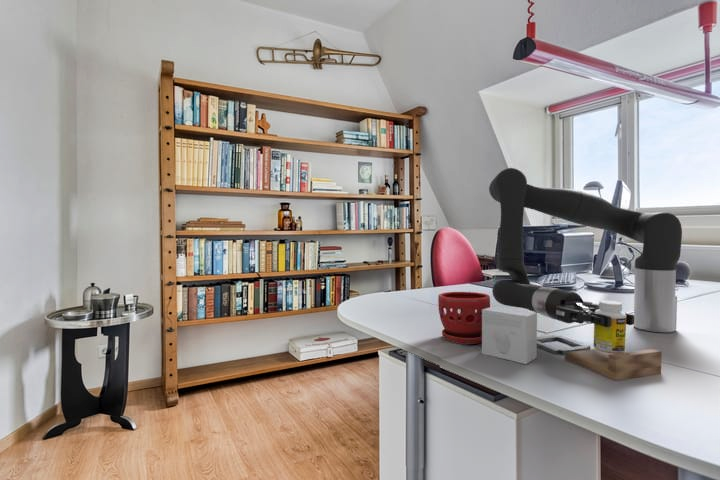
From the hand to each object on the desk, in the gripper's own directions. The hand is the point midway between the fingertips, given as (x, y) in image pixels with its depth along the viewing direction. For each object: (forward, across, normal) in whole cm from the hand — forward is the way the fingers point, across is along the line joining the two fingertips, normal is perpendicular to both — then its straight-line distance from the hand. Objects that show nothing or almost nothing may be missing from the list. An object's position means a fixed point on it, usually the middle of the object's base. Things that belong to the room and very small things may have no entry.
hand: (621, 321), depth 76 cm
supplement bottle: (-3, 0, +7) cm, 7 cm away
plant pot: (-28, -19, +11) cm, 36 cm away
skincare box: (-14, -16, +11) cm, 24 cm away
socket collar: (-16, 0, +10) cm, 19 cm away
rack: (-2, 0, +10) cm, 10 cm away
